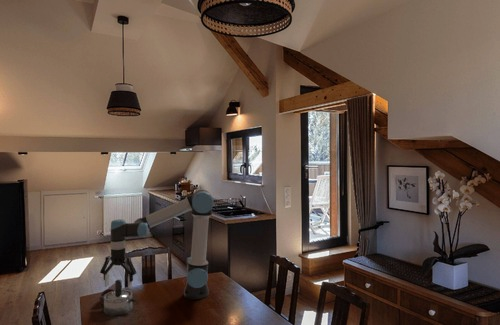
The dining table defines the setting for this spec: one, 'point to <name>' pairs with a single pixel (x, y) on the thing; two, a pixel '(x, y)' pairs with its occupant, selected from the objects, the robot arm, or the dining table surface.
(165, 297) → the dining table surface
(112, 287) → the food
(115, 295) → the lid
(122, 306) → the pot
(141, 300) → the dining table surface
